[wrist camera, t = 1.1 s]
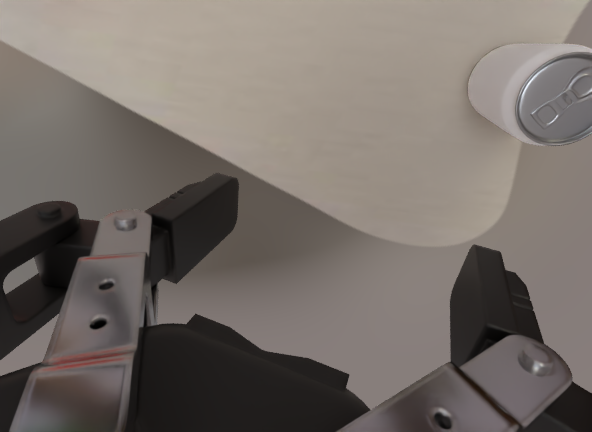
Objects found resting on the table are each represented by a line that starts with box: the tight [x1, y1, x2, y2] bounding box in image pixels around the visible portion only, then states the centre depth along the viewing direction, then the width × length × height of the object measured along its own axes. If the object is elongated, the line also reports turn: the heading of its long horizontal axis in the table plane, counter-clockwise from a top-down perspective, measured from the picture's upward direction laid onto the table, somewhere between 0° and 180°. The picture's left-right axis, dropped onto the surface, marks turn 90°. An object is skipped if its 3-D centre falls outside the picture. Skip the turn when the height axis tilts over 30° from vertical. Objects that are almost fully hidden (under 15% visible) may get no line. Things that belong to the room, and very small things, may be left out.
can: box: [468, 44, 592, 146], centre depth 28 cm, size 6×6×12 cm
